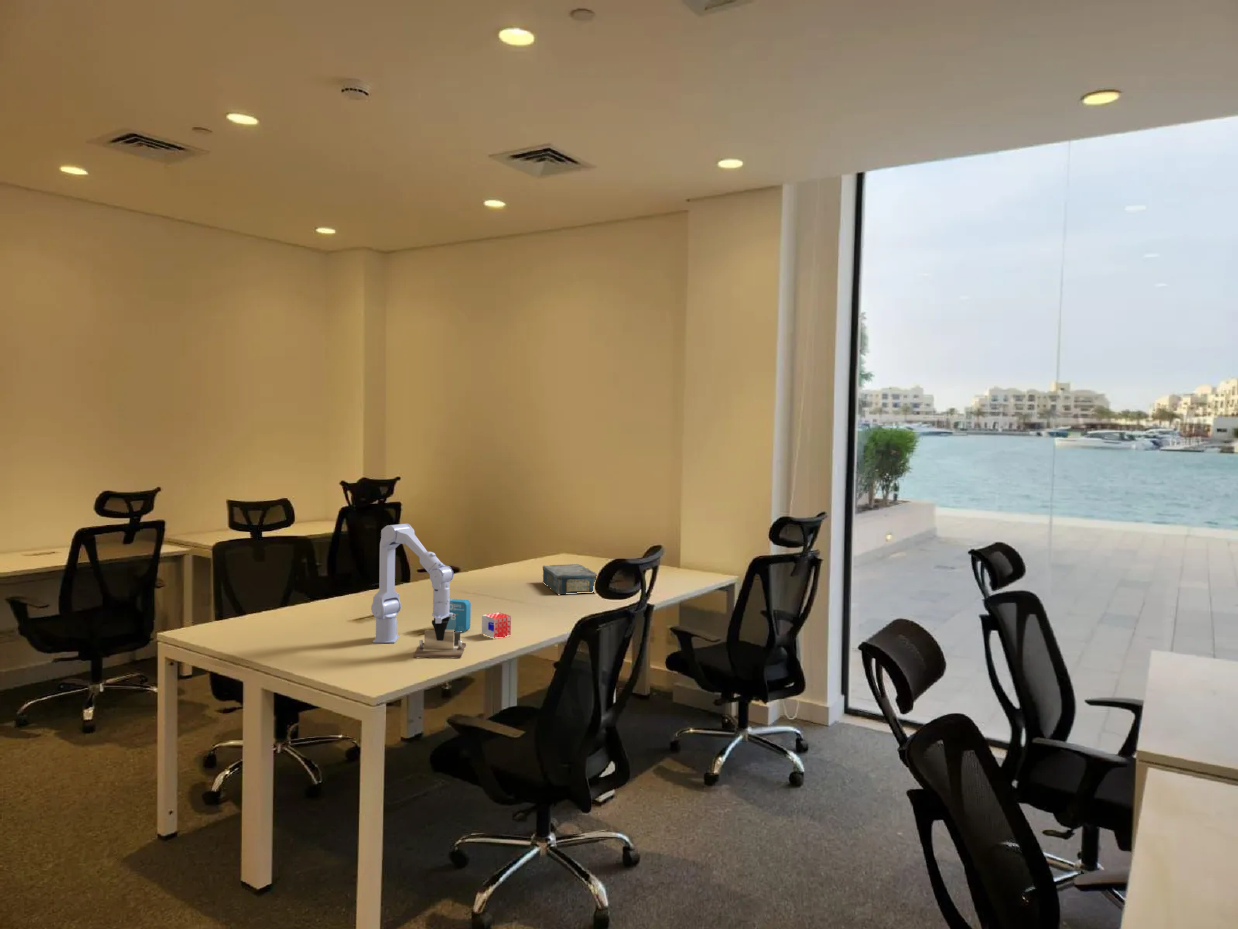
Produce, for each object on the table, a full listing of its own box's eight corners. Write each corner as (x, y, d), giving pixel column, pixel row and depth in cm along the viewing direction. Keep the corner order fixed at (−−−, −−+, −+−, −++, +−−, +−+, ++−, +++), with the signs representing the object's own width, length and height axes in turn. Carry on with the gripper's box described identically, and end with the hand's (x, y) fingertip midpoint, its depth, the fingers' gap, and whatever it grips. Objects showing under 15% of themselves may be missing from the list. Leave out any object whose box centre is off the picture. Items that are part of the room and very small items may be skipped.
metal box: (556, 596, 391) (556, 575, 390) (541, 583, 421) (541, 564, 421) (598, 594, 397) (598, 574, 397) (580, 582, 428) (581, 563, 428)
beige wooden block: (425, 646, 289) (425, 629, 289) (454, 646, 290) (454, 629, 289) (424, 648, 286) (424, 631, 286) (453, 648, 287) (453, 631, 286)
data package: (437, 630, 318) (437, 600, 317) (442, 628, 322) (442, 597, 322) (465, 632, 315) (466, 602, 315) (470, 630, 320) (471, 600, 319)
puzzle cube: (510, 636, 312) (511, 615, 312) (493, 639, 307) (494, 618, 306) (498, 632, 318) (498, 612, 318) (481, 635, 312) (481, 615, 312)
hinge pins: (419, 648, 288) (419, 640, 288) (461, 648, 289) (462, 640, 289) (419, 649, 287) (419, 640, 287) (461, 649, 288) (461, 641, 288)
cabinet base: (421, 645, 295) (421, 632, 295) (465, 645, 297) (466, 632, 296) (413, 658, 279) (413, 643, 279) (460, 658, 281) (461, 643, 280)
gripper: (450, 605, 280) (449, 644, 281) (455, 596, 295) (454, 634, 295) (429, 605, 280) (428, 644, 280) (435, 596, 294) (434, 633, 295)
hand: (440, 639), depth 288 cm, fingers closed on beige wooden block, 3 cm apart
